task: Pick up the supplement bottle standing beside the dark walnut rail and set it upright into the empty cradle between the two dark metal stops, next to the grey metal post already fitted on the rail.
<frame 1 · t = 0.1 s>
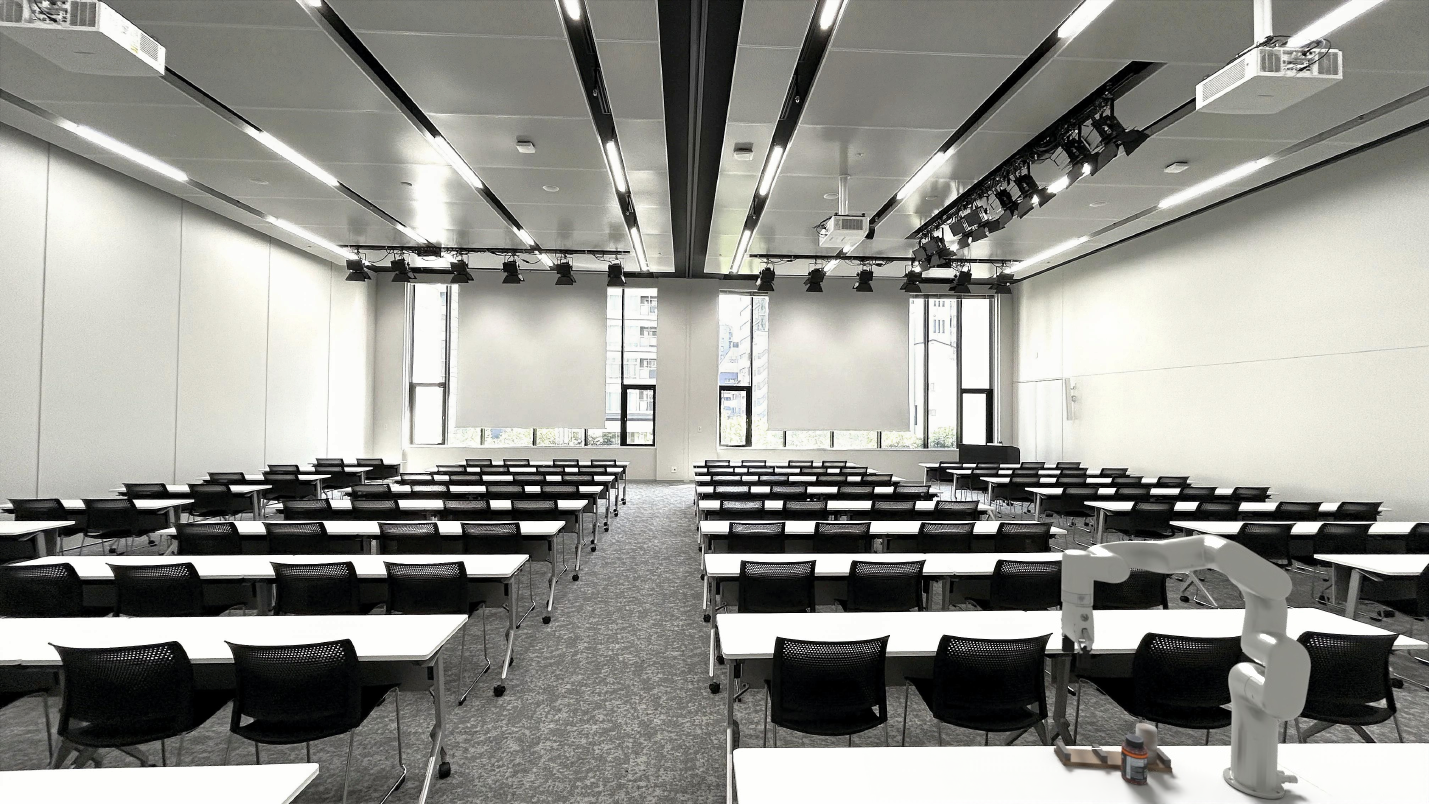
hand: (1075, 659, 180), 31 cm above the table, fingers open, 9 cm apart
supplement bottle: (1133, 779, 178), on the table
rail: (1111, 761, 186), on the table
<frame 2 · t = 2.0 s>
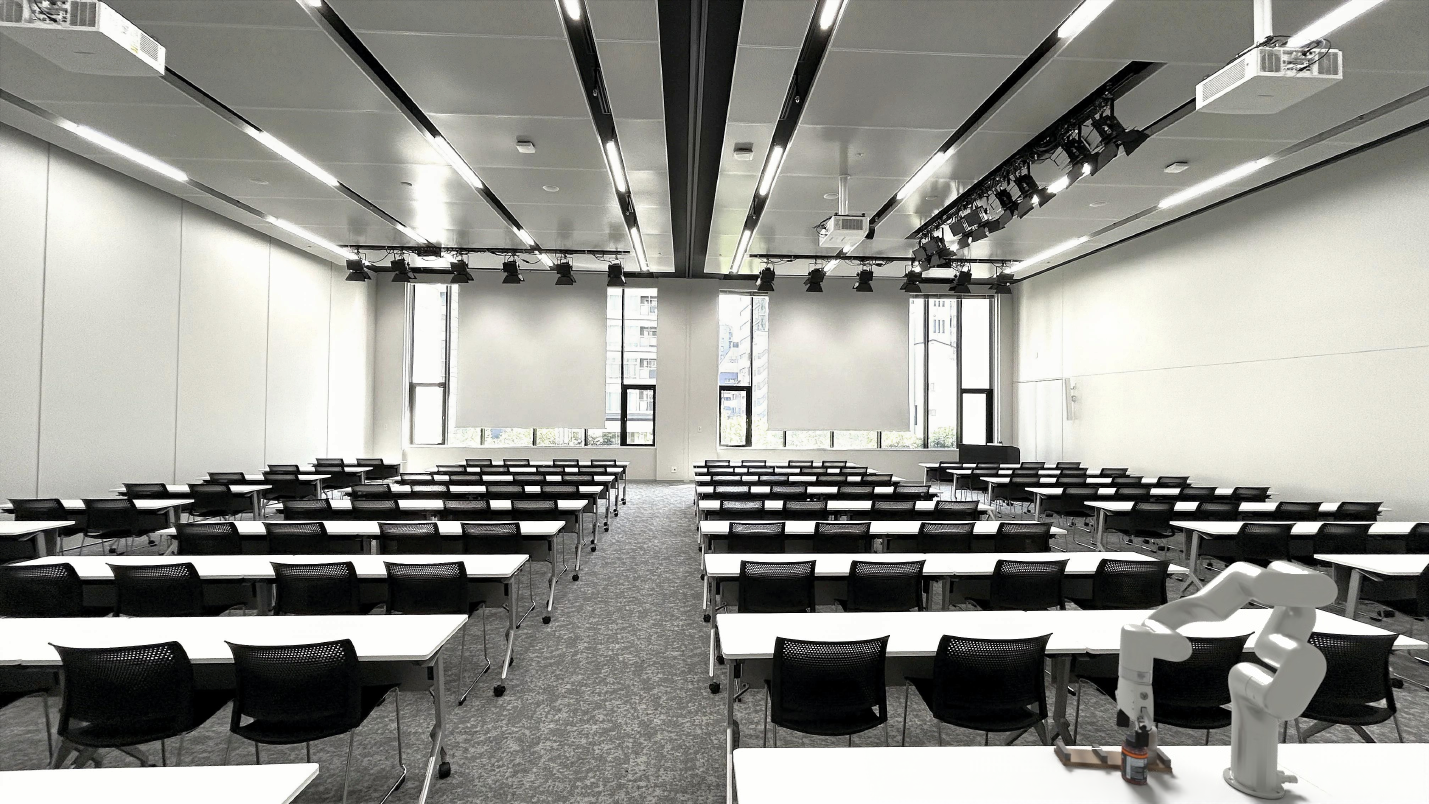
hand: (1131, 736, 177), 12 cm above the table, fingers open, 9 cm apart
nothing on the table moved.
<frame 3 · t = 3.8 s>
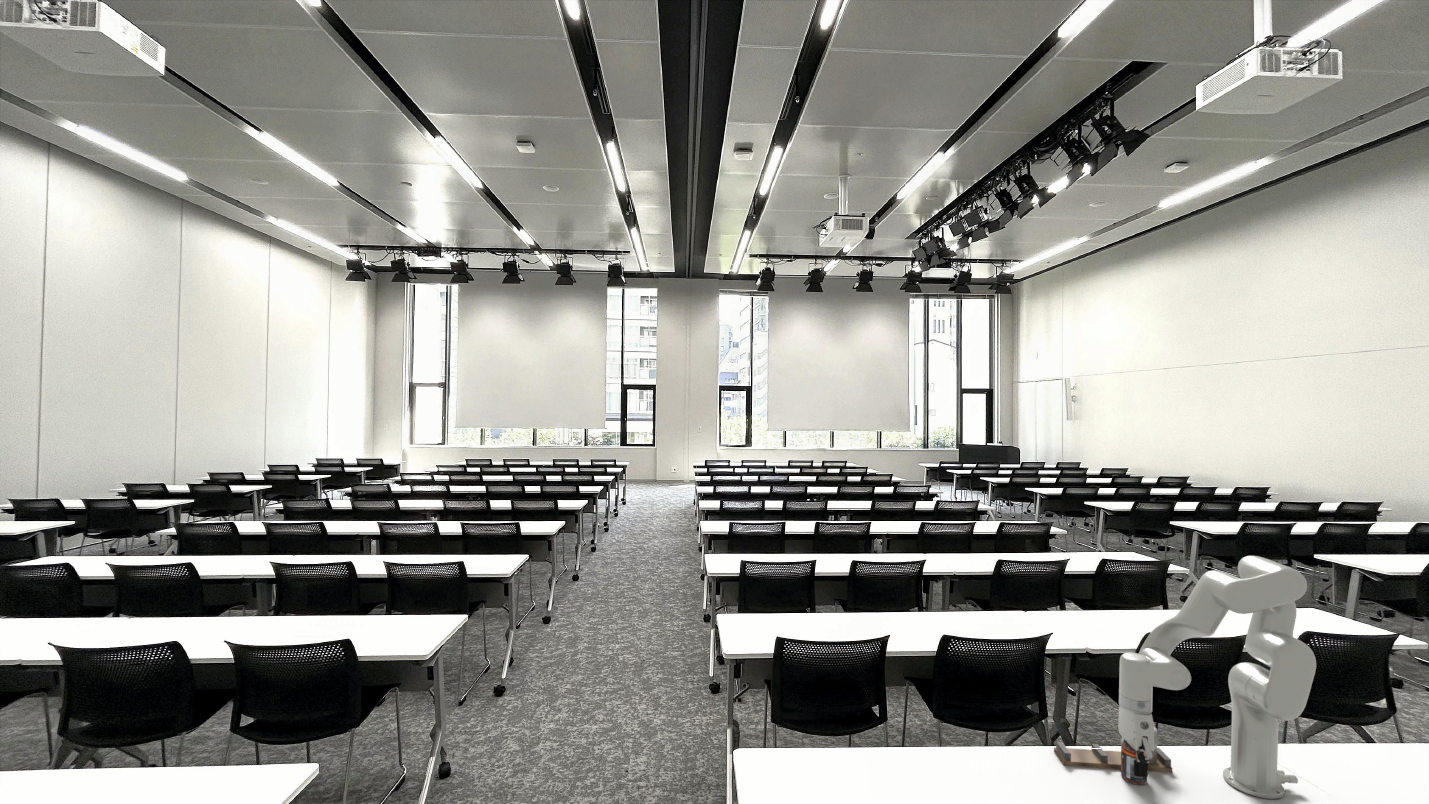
hand: (1134, 767, 178), 3 cm above the table, fingers closed on supplement bottle, 6 cm apart
supplement bottle: (1133, 779, 178), on the table, touching gripper
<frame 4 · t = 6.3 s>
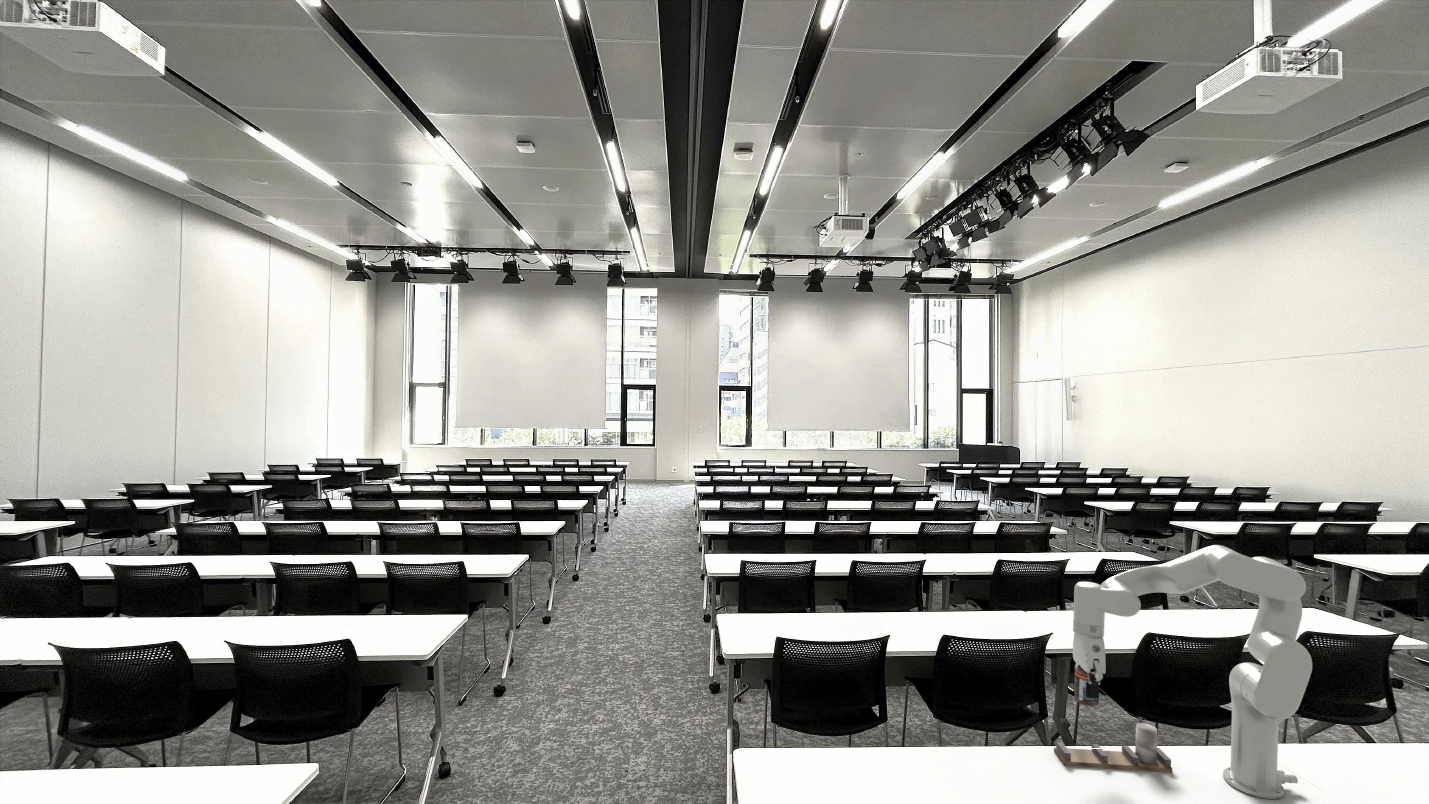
hand: (1086, 691, 185), 20 cm above the table, fingers closed on supplement bottle, 6 cm apart
supplement bottle: (1086, 702, 186), point 17 cm above the table, touching gripper
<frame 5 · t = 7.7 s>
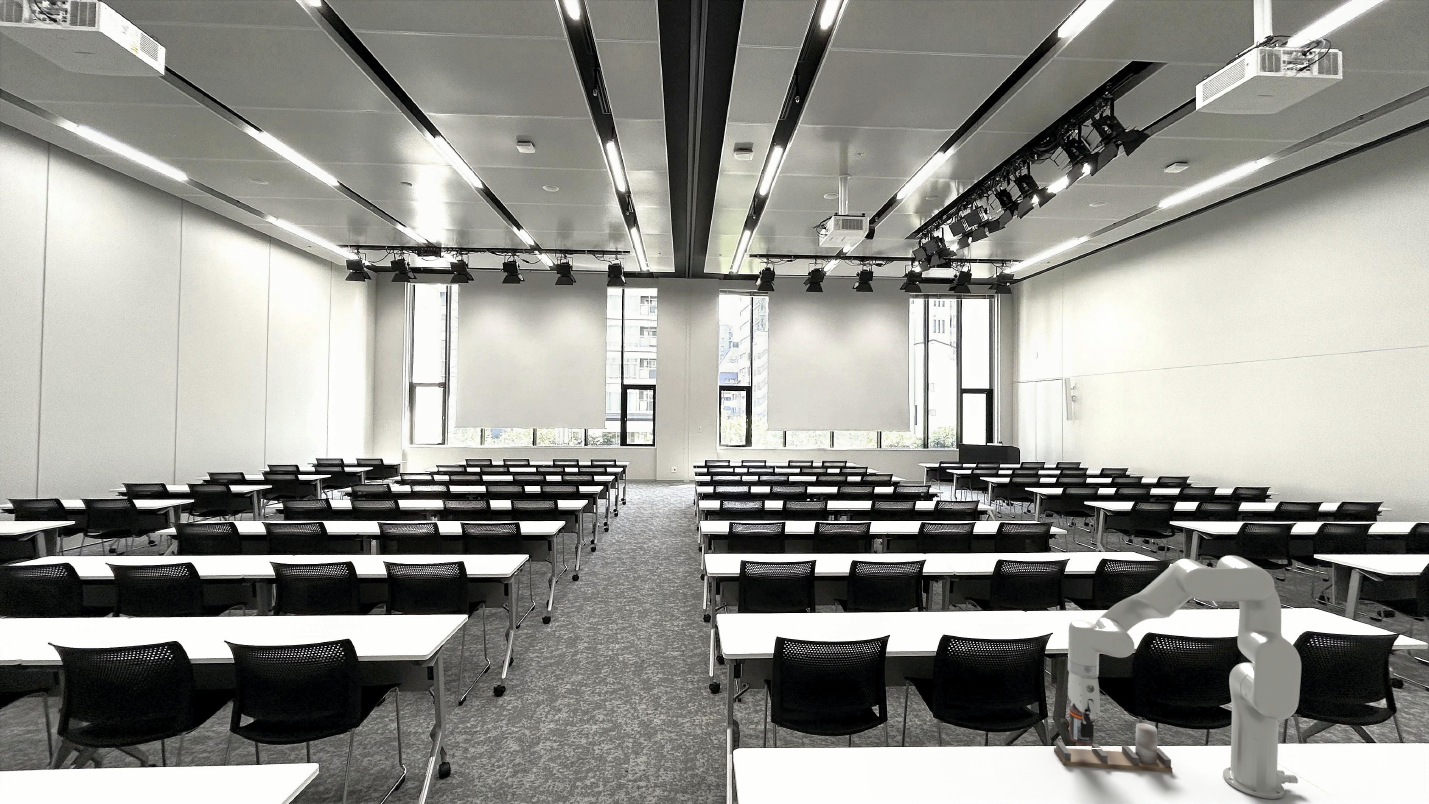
hand: (1081, 730, 187), 8 cm above the table, fingers closed on supplement bottle, 6 cm apart
supplement bottle: (1081, 741, 187), point 5 cm above the table, touching gripper
when the fingers open (5 cm above the table, at t = 9.0 s): supplement bottle drops 1 cm, resting on rail.
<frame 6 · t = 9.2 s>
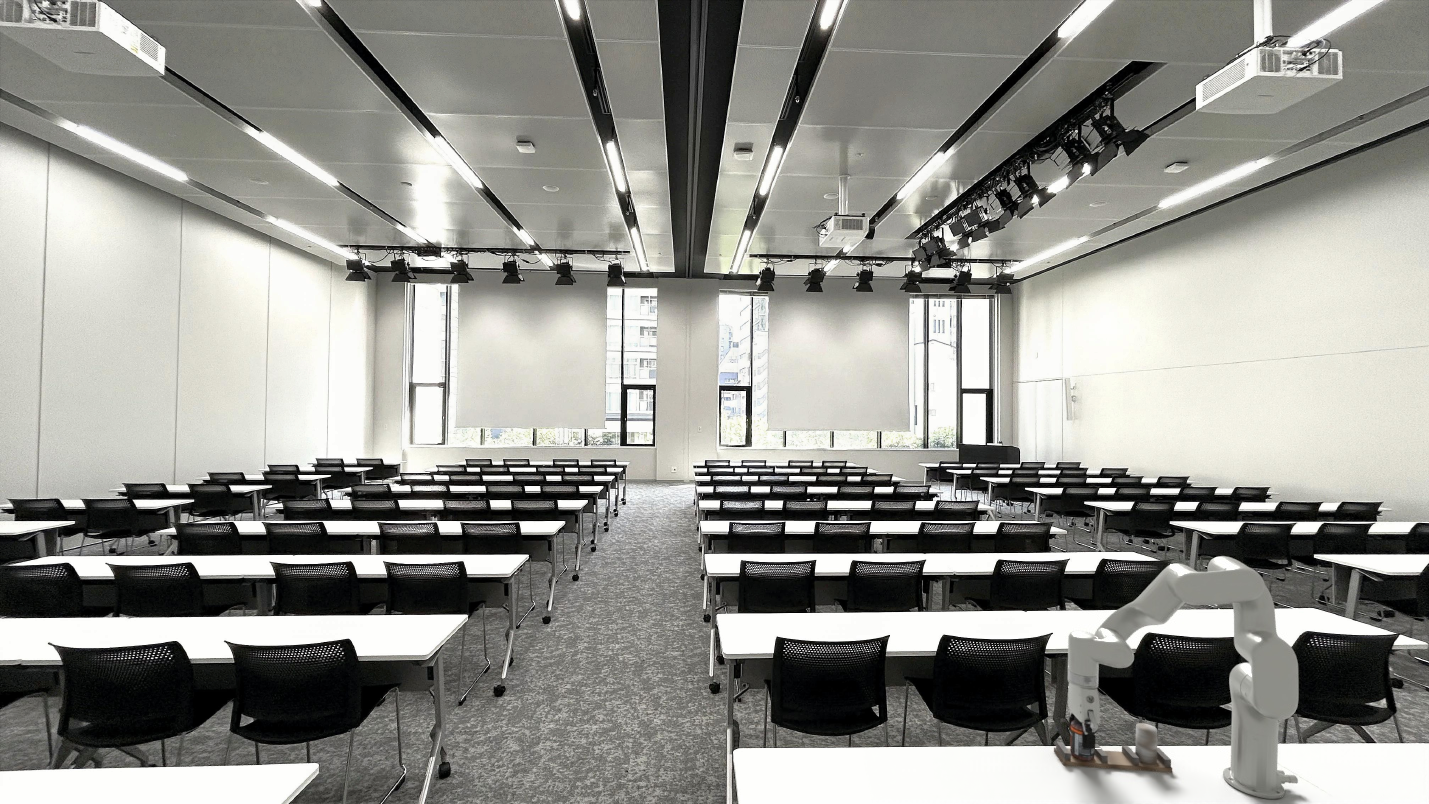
hand: (1081, 738, 187), 6 cm above the table, fingers open, 8 cm apart
supplement bottle: (1082, 756, 187), point 1 cm above the table, touching rail
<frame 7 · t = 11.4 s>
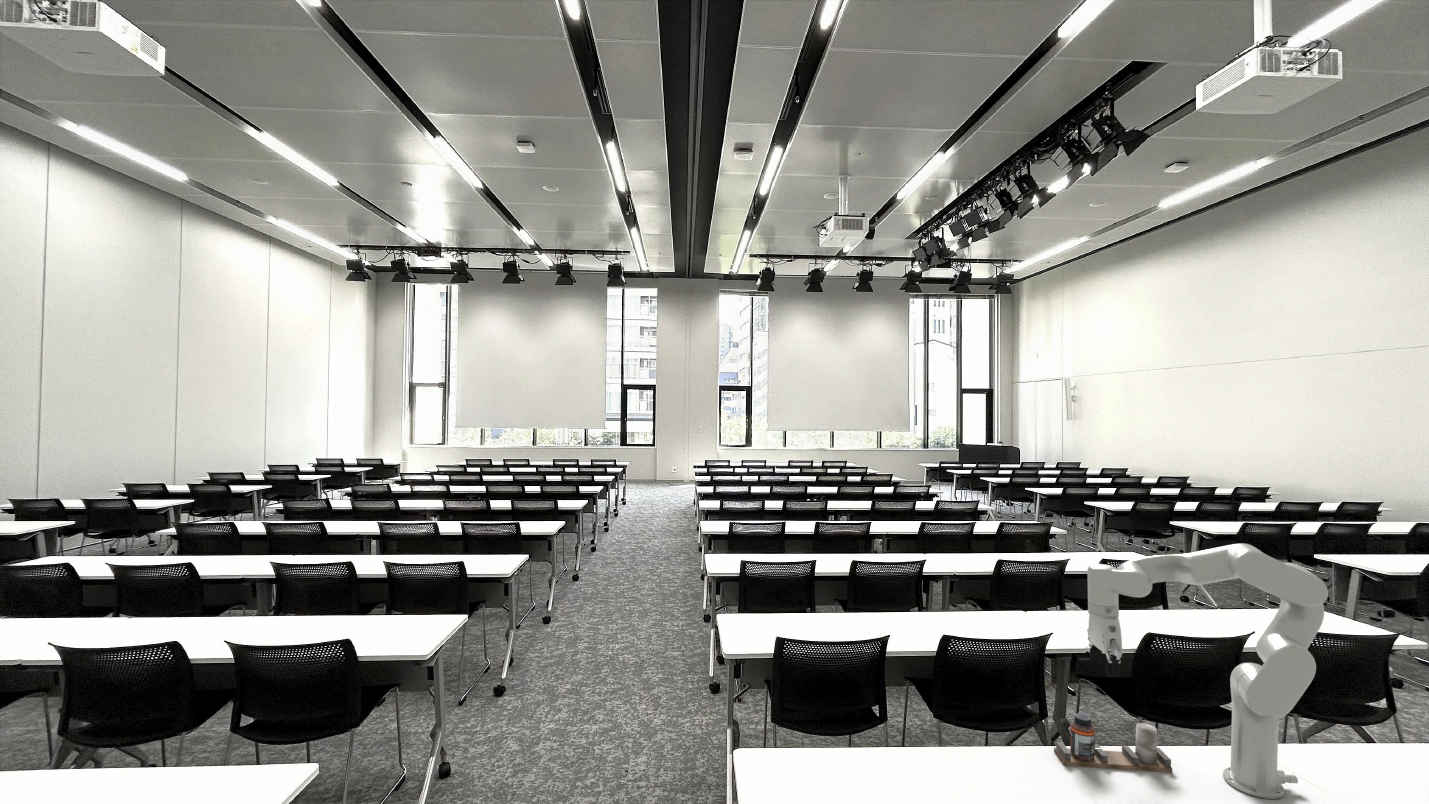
hand: (1104, 669, 189), 25 cm above the table, fingers open, 9 cm apart
nothing on the table moved.
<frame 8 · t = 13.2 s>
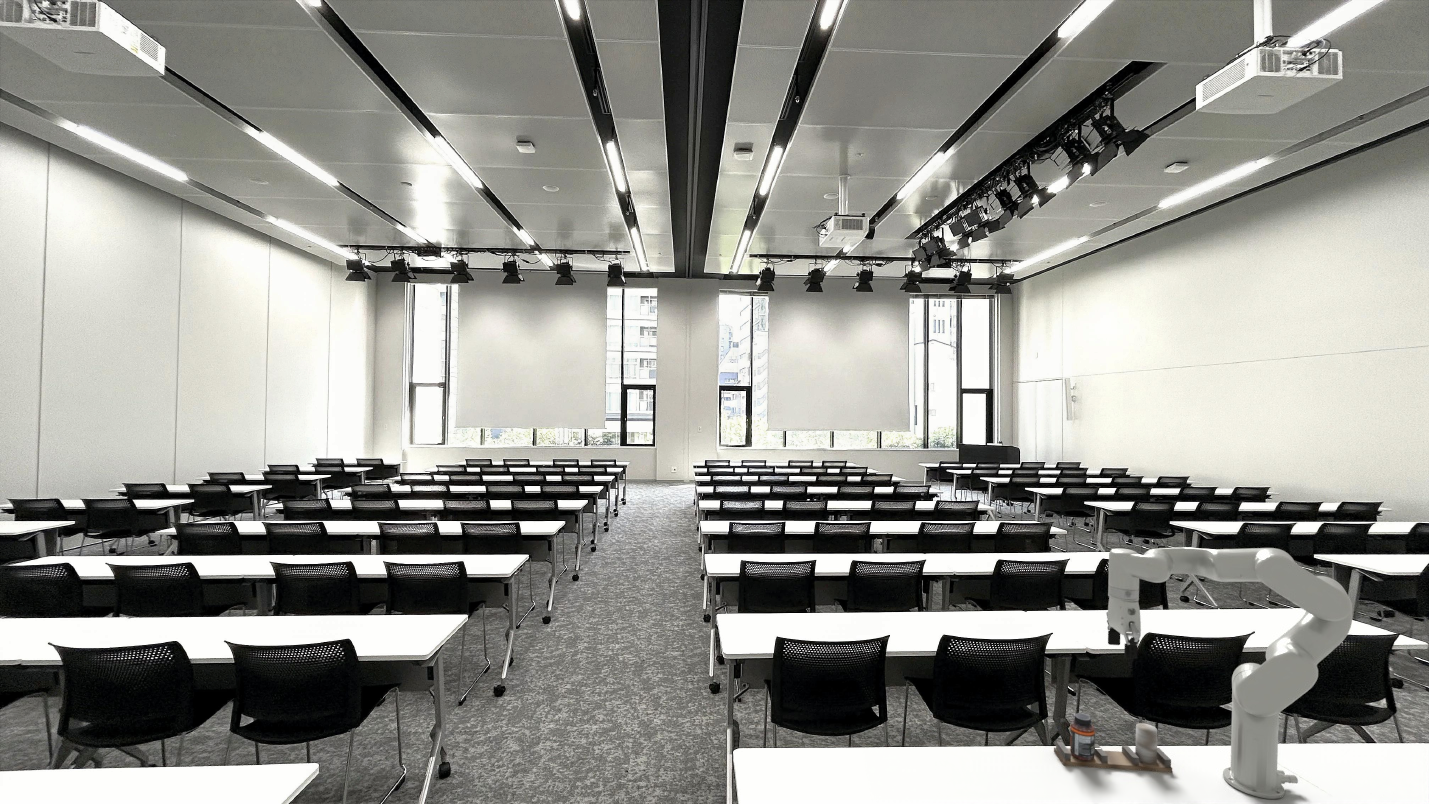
hand: (1122, 651, 192), 28 cm above the table, fingers open, 9 cm apart
nothing on the table moved.
at the end: supplement bottle 0.2 cm from the target spot on the rail, point 1.0 cm above the rail's base; supplement bottle tilted 0°; the gripper is holding nothing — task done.
